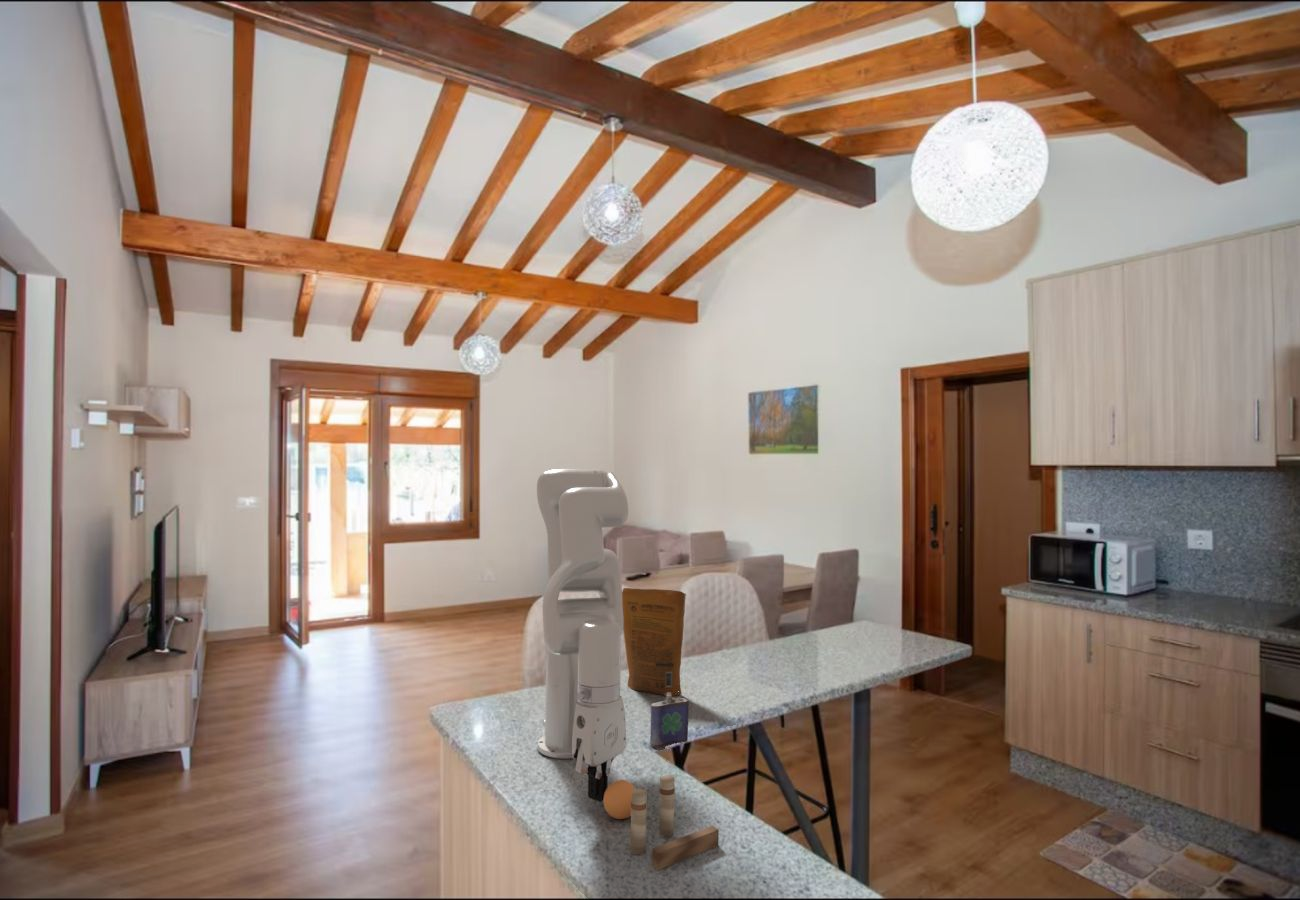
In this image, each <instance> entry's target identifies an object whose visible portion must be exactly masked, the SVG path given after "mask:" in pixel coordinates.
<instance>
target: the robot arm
mask: <svg viewBox="0 0 1300 900" xmlns="http://www.w3.org/2000/svg"><path fill="white" fill-rule="evenodd" d="M536 497H537V498H536V499H537V504H538V507H539V511H540V514H541V517H542V518H543V522H544V526H545V528H546V529H545V530H546V534H547V535H546V536H547V537H546V538H547V566H548V568H547V569H548V570H547V571H548V580H549V581H548V583H547V584H546V587H545V590H544V593H543V599H542V623H543V625H542V626H543V638H544V643H545V651H546V652H545V654H546V656H545V658H546V661H545V663H546V665H545V666H546V667H545V669H546V670H545V671H546V672H545V706H544V707H545V708H544V709H545V710H544V712H545V713H544V714H545V715H544V717H545V718H544V720H543V721H542V723H541V725H542V726H543V727H544V735H543V736H542V737H540V738H539V739H538V741H537V743H536V745H537V746H536V748H537V750H538V752H539V753H540V754H542V755H544V756H546V757H549V758H554V759H562V760H563V759H564V760H565V759H573V761H575V762H576V764H575V772H576V773H579V774H585V775H586V777H587V797H588V799H591V800H592V801H593V800H594V801H597V802H599V803H602V802H604V801H603V799H604V793H605V791H606V789H607V787H608V786H609V784H608V783H609V782H608V781H609V776H608V775H609V774H610V773H611V768H612V762H613V760H614V759H615V758H616V757H617V756H620V755H621V754H622V753H623V752H624V751H625V750H626V748H627V725H626V723H627V722H626V712H625V705H624V699H623V696H622V695H621V660H622V659H621V657H622V656H621V653H622V650H621V648H622V635H623V626H624V615H623V599H622V592H623V587H622V573H621V566H620V565H621V564H620V561H619V558H618V555H617V554H616V553H615V552H614V551H613V550H611V549H609V548H605V546H604V545H605V544H604V537H603V536H604V535H603V528H622V527H623V526H624V525H626V523H627V520H628V518H629V511H630V510H629V503H628V498H627V495H626V493H625V490H624V488H623V486H622V485H621V483H620V481H619V480H618V478H617V476H616V475H615V474H614V472H612V471H610V470H607V469H591V468H590V469H586V468H585V469H584V468H583V469H582V468H559V469H558V468H556V469H555V468H554V469H550V470H546V471H544V472H542V473H541V474H540V475H539V477H538V478H537V484H536ZM593 592H595V593H598V595H599V597H579V598H577V597H576V598H575V597H574V598H562V599H559V597H560V593H593Z"/></svg>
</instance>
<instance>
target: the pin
mask: <svg viewBox="0 0 1300 900" xmlns="http://www.w3.org/2000/svg"><path fill="white" fill-rule="evenodd" d="M675 779H676V778H675V776H673V775H672V774H671V775H670V774H663V775H661V776H660V777H659V816H658V817H659V821H658V824H659V825H658V826H659V827H658V833H659V836H660V837H662V838H666V839H667V838H671V837H673V836H674V835H675V834H674V833H675V829H674V827H675V792H676V787H675Z"/></svg>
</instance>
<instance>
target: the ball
mask: <svg viewBox="0 0 1300 900" xmlns="http://www.w3.org/2000/svg"><path fill="white" fill-rule="evenodd" d="M634 789H636V788H635V785H633V784H632V783H631V782H630V781H627V780H624V779H617V780H615V781H612V782H611V783H610V784H608V787H607V789H606V791H605V793H604V799H603V801H602V802H603V806H604V809H605V811H606V813H608V815H609V816H610V817H612V818H613V819H615V820H625V819H628V818H629V817H631V792H632V791H633V790H634Z"/></svg>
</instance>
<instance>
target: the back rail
mask: <svg viewBox="0 0 1300 900" xmlns="http://www.w3.org/2000/svg"><path fill="white" fill-rule="evenodd" d="M719 831H720V830H719V828H717V827H716V826H714V825H713V824H712V825H710V826H707V827H704V828H702V829H700V830H697V831H695V832H692V833H690V834H687V835H683V836H682V837H679V838H676V839H674V840H671V841H668V842H666V843H663V844H661V845H658V846H656V847H653V848H652V849H651V850H652V851H651V866H652V867H653V868H654V869H655V870H657V871H659V870H662V869H664V868H667V867H669V866H673V865H675V864H677V863H679V862H682V861H685V860H687V859H690V858H691V857H694V856H696V855H698V854H701V853H703V852H706V851H708V850H710V849H713V848H715V847H718V846H719V837H720V836H719V835H720V834H719V833H720V832H719Z"/></svg>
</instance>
